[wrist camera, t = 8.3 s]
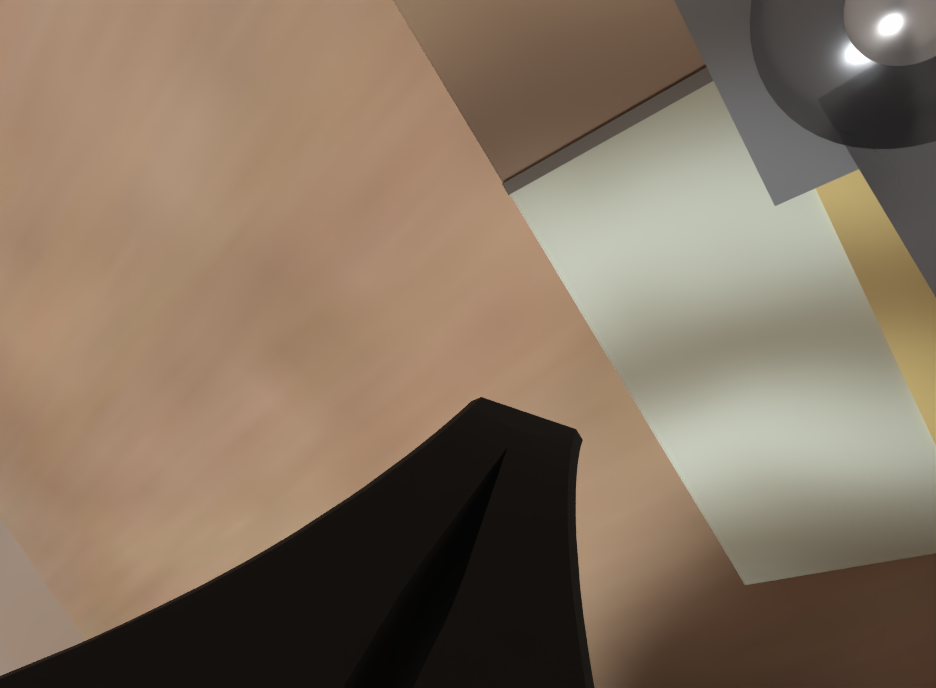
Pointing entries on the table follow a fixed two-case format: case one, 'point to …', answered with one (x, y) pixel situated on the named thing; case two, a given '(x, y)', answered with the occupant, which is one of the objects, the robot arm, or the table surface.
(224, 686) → the robot arm
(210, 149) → the table surface
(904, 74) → the latch bar
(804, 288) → the door board
